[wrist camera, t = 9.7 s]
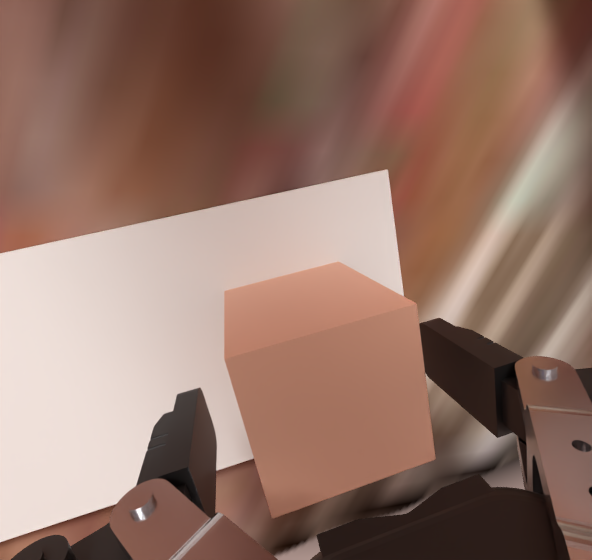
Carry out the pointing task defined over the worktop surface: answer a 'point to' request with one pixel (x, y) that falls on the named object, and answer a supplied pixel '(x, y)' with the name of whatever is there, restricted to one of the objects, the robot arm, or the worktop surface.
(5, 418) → the white board
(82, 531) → the worktop surface
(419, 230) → the worktop surface
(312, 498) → the salmon pink cube
